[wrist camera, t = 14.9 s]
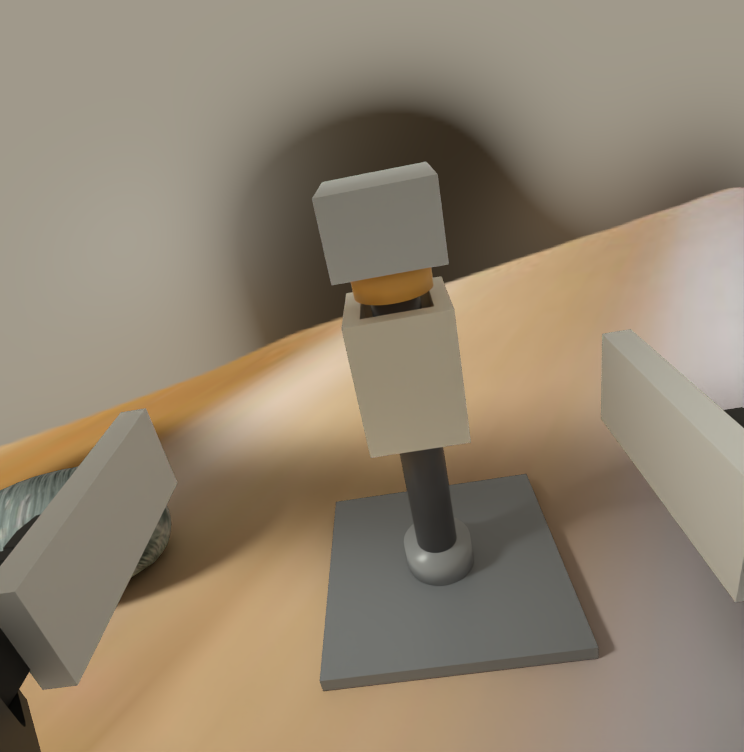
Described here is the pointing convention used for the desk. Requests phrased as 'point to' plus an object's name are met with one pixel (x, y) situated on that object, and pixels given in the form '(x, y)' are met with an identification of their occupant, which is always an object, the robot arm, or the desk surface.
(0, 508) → the grey oval lump
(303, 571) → the desk surface
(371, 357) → the sleeve
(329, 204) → the stand
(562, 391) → the desk surface
